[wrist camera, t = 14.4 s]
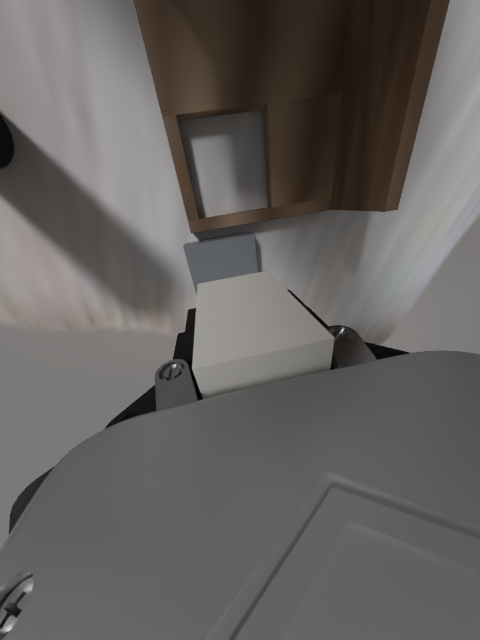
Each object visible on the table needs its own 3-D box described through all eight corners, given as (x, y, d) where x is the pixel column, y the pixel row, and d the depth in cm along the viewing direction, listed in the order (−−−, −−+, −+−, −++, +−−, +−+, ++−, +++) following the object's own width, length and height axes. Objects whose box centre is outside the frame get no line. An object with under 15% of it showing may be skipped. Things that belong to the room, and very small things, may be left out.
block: (212, 340, 15) (220, 446, 8) (197, 283, 12) (191, 368, 6) (271, 328, 15) (322, 421, 9) (267, 270, 13) (334, 338, 6)
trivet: (198, 296, 23) (198, 302, 22) (184, 243, 20) (183, 246, 19) (256, 285, 24) (259, 290, 22) (251, 232, 21) (254, 234, 19)
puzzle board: (191, 231, 20) (186, 246, 13) (100, -140, 10) (-97, -811, 3) (333, 207, 21) (397, 209, 14) (368, -150, 11) (618, -678, 5)
